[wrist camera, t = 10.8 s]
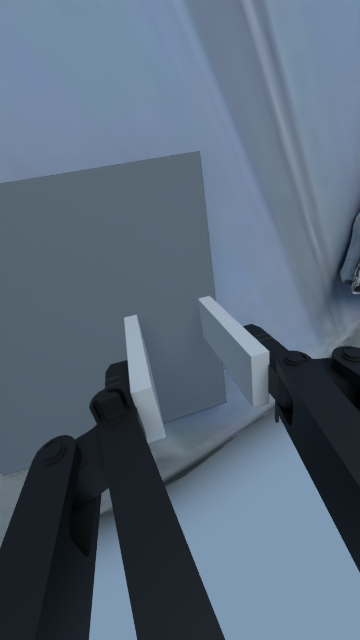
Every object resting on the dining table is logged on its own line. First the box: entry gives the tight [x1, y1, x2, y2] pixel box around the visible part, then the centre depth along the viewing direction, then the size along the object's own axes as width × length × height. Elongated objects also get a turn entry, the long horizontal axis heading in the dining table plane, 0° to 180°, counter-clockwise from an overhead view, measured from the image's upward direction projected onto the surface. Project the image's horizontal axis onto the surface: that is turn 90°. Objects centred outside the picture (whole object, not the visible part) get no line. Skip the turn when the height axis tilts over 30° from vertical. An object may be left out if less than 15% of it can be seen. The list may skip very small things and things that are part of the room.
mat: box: [0, 151, 227, 476], centre depth 17 cm, size 20×20×1 cm
